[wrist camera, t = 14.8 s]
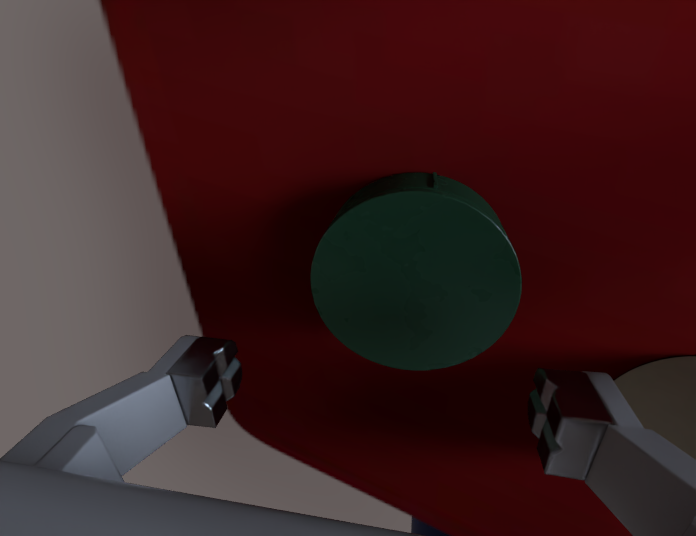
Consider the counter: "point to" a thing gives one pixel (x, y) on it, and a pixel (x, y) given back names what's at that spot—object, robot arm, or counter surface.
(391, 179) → the lid
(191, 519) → the robot arm
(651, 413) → the white jar
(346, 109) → the counter surface
